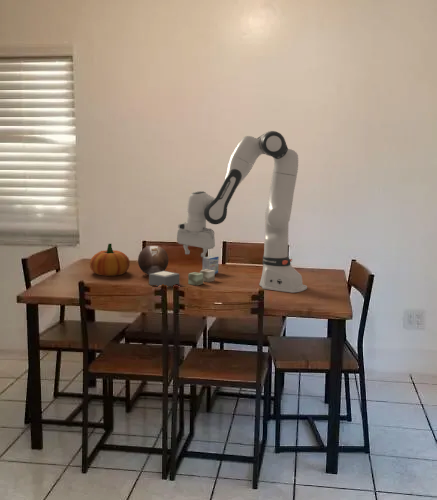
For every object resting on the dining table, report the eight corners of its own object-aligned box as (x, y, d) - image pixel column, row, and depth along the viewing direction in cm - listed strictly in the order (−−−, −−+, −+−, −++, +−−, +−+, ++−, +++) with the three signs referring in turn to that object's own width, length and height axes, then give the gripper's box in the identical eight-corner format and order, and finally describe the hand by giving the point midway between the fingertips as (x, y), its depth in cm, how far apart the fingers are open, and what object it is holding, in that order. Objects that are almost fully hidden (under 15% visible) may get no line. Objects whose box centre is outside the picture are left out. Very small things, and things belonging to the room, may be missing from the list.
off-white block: (214, 280, 296) (214, 270, 295) (208, 282, 292) (208, 272, 291) (206, 278, 299) (206, 268, 298) (200, 280, 295) (200, 270, 294)
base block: (179, 284, 287) (179, 273, 286) (165, 288, 279) (165, 276, 278) (163, 280, 293) (163, 270, 292) (149, 284, 285) (149, 273, 284)
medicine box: (208, 275, 306) (209, 258, 305) (202, 274, 309) (202, 257, 307) (218, 273, 313) (218, 256, 311) (211, 271, 315) (212, 255, 314)
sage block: (203, 283, 289) (203, 273, 288) (196, 285, 285) (196, 275, 284) (194, 282, 292) (195, 271, 291) (188, 284, 288) (188, 273, 287)
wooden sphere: (144, 279, 294) (144, 248, 292) (133, 273, 308) (133, 243, 305) (172, 277, 301) (173, 247, 298) (161, 270, 314) (161, 242, 312)
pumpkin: (100, 279, 292) (100, 248, 289) (83, 272, 307) (83, 242, 304) (136, 275, 303) (136, 245, 301) (118, 268, 318) (118, 239, 316)
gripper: (218, 228, 280) (217, 258, 283) (183, 223, 292) (182, 251, 295) (210, 229, 275) (208, 260, 278) (175, 224, 287) (174, 253, 289)
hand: (195, 255), depth 286 cm, fingers open, 8 cm apart
